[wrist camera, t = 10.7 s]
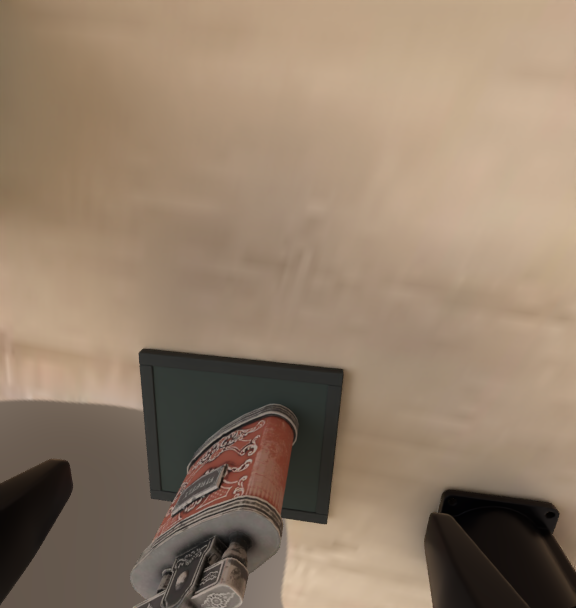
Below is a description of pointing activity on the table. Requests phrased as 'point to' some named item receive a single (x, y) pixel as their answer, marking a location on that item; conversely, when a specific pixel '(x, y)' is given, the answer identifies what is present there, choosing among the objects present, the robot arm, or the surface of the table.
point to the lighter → (221, 516)
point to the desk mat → (231, 405)
